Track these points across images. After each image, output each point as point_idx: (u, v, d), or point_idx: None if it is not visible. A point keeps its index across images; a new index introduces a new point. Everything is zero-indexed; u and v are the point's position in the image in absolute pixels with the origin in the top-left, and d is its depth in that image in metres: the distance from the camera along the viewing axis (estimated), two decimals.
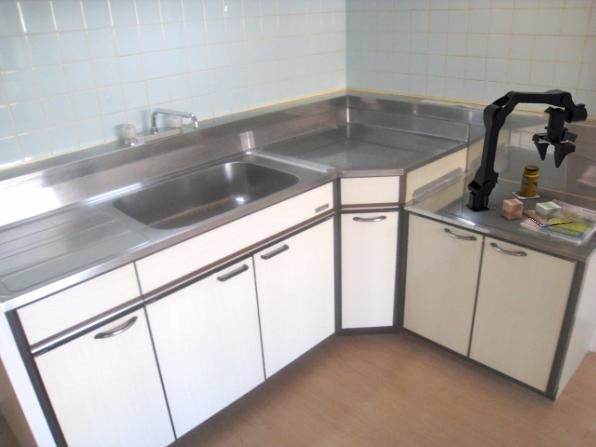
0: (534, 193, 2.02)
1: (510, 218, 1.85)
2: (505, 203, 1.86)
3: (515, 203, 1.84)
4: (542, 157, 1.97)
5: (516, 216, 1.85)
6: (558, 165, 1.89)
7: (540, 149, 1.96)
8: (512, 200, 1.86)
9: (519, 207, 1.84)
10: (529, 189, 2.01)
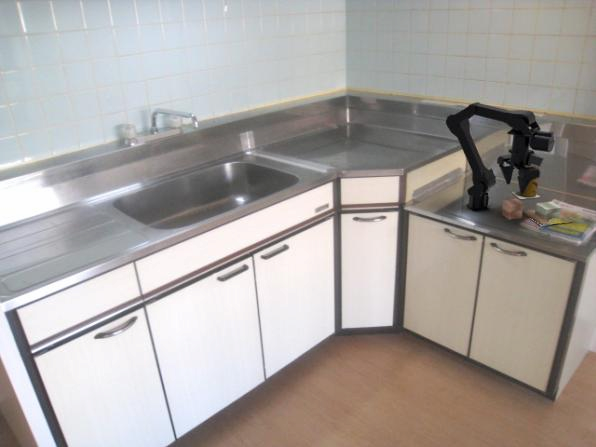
0: (534, 193, 2.02)
1: (510, 218, 1.85)
2: (505, 203, 1.86)
3: (515, 203, 1.84)
4: (507, 181, 1.86)
5: (516, 216, 1.85)
6: (523, 190, 1.78)
7: (505, 172, 1.85)
8: (512, 200, 1.86)
9: (519, 207, 1.84)
10: (529, 189, 2.01)
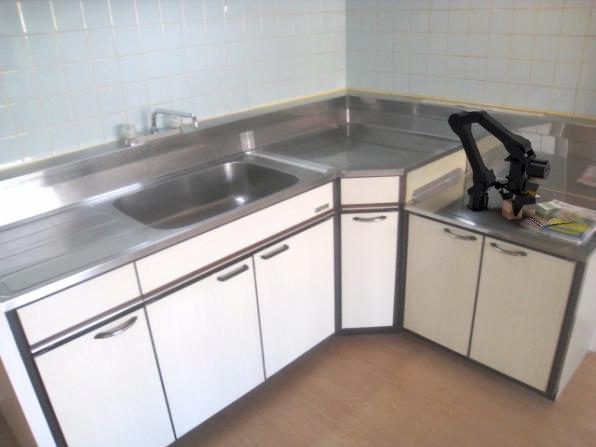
0: (534, 193, 2.02)
1: (510, 218, 1.85)
2: (505, 203, 1.86)
3: None
4: None
5: (516, 216, 1.85)
6: (516, 213, 1.84)
7: (505, 199, 1.88)
8: None
9: None
10: None
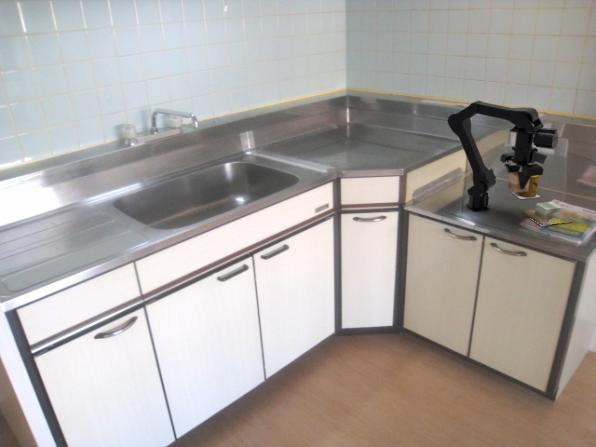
0: (534, 193, 2.02)
1: (516, 191, 1.80)
2: (511, 175, 1.81)
3: None
4: None
5: (523, 189, 1.80)
6: (523, 186, 1.79)
7: None
8: None
9: None
10: (529, 189, 2.01)
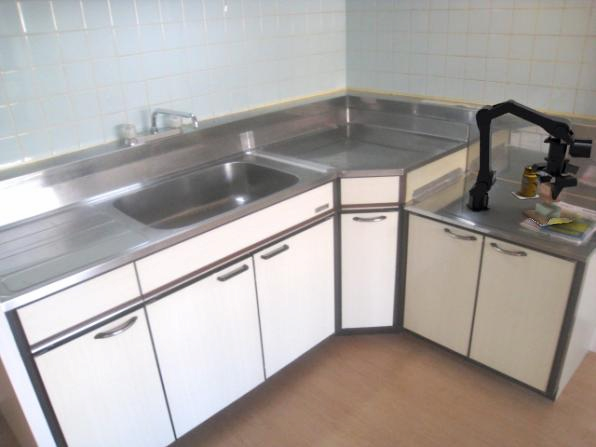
0: (534, 193, 2.02)
1: (548, 201, 1.79)
2: (543, 186, 1.80)
3: None
4: None
5: None
6: (555, 197, 1.78)
7: (542, 182, 1.81)
8: (550, 183, 1.80)
9: None
10: (529, 189, 2.01)
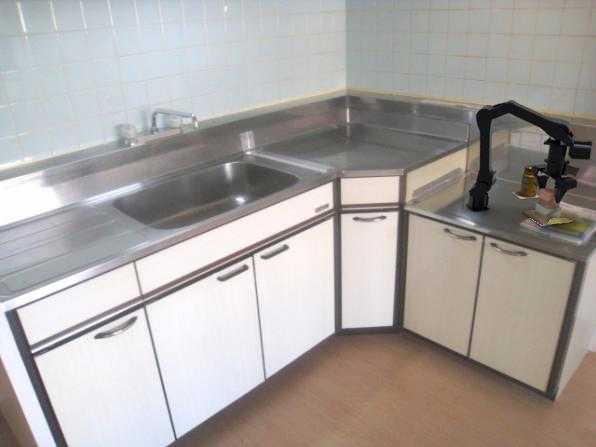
0: (534, 193, 2.02)
1: (548, 207, 1.80)
2: (542, 191, 1.81)
3: (553, 191, 1.78)
4: None
5: (554, 205, 1.80)
6: (559, 200, 1.76)
7: (539, 182, 1.83)
8: (549, 189, 1.81)
9: None
10: (529, 189, 2.01)
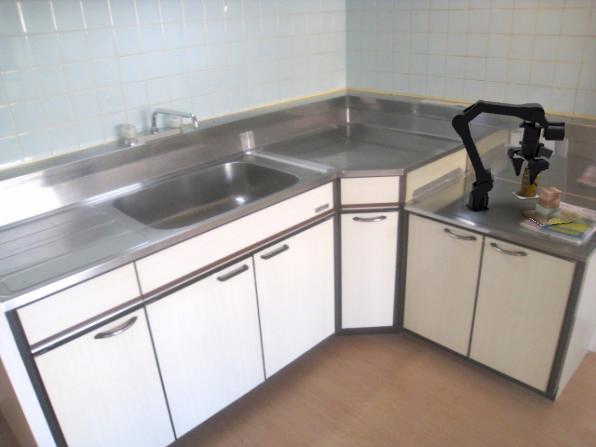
0: (534, 193, 2.02)
1: (548, 207, 1.80)
2: (542, 191, 1.81)
3: (553, 191, 1.78)
4: (517, 172, 1.90)
5: (554, 205, 1.80)
6: (532, 182, 1.81)
7: (515, 164, 1.89)
8: (549, 189, 1.81)
9: (557, 196, 1.78)
10: (529, 189, 2.01)
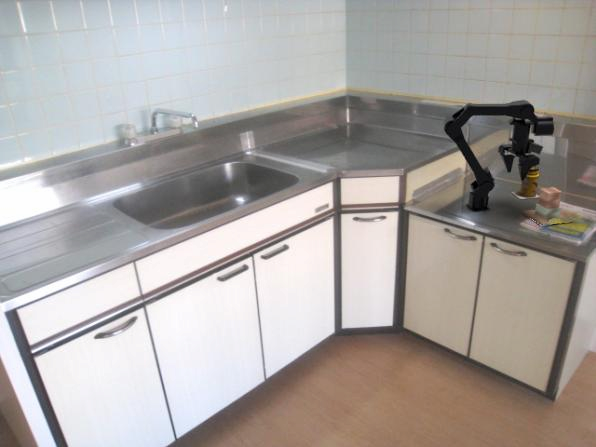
0: (534, 193, 2.02)
1: (548, 207, 1.80)
2: (542, 191, 1.81)
3: (553, 191, 1.78)
4: (508, 169, 1.92)
5: (554, 205, 1.80)
6: (523, 178, 1.84)
7: (506, 161, 1.91)
8: (549, 189, 1.81)
9: (557, 196, 1.78)
10: (529, 189, 2.01)
